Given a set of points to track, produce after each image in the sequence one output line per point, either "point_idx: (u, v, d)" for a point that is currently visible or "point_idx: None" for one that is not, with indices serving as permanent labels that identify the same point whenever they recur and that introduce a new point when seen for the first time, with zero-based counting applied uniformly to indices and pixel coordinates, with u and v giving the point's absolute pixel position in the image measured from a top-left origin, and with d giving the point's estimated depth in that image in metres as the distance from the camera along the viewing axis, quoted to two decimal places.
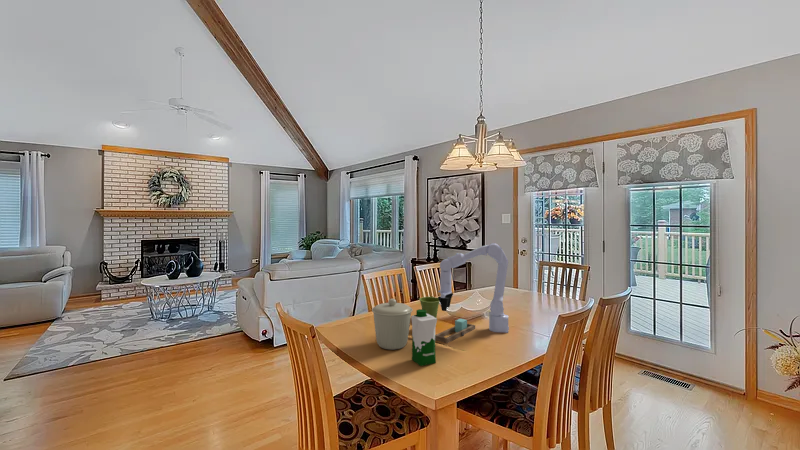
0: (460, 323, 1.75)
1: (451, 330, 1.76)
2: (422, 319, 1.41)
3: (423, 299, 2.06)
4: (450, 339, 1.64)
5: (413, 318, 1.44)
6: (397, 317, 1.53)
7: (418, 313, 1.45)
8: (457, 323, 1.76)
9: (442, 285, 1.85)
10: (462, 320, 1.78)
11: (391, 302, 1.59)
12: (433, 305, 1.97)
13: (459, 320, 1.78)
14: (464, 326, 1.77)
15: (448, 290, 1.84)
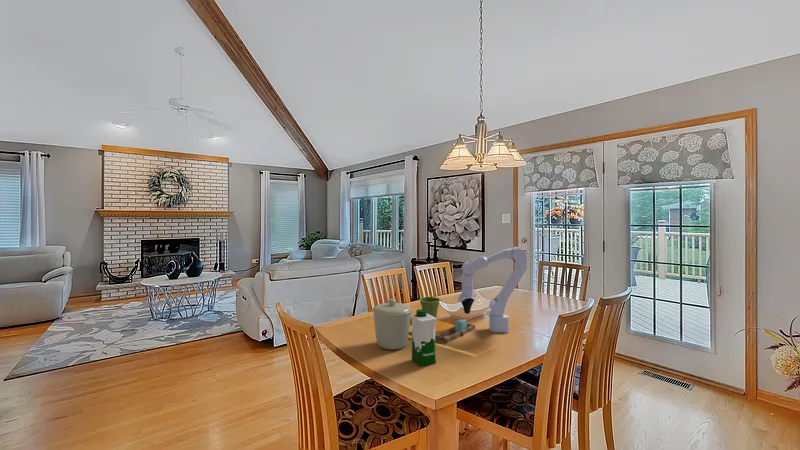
0: (460, 323, 1.75)
1: (451, 330, 1.76)
2: (422, 319, 1.41)
3: (423, 299, 2.06)
4: (450, 339, 1.64)
5: (413, 318, 1.44)
6: (397, 317, 1.53)
7: (418, 313, 1.45)
8: (457, 323, 1.76)
9: (462, 288, 1.81)
10: (462, 320, 1.78)
11: (391, 302, 1.59)
12: (433, 305, 1.97)
13: (459, 320, 1.78)
14: (464, 326, 1.77)
15: (468, 294, 1.79)
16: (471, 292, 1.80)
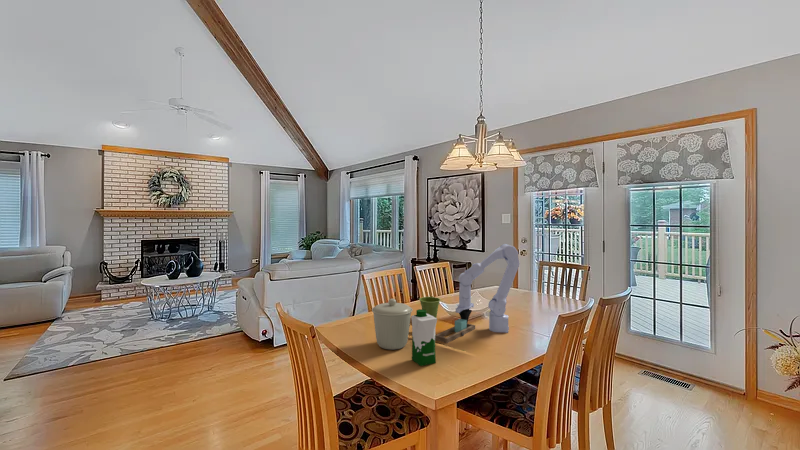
0: (460, 323, 1.75)
1: (451, 330, 1.76)
2: (422, 319, 1.41)
3: (423, 299, 2.06)
4: (450, 339, 1.64)
5: (413, 318, 1.44)
6: (397, 317, 1.53)
7: (418, 313, 1.45)
8: (457, 323, 1.76)
9: (460, 299, 1.79)
10: (462, 320, 1.78)
11: (391, 302, 1.59)
12: (433, 305, 1.97)
13: (459, 320, 1.78)
14: (463, 326, 1.76)
15: (466, 305, 1.78)
16: (468, 303, 1.78)
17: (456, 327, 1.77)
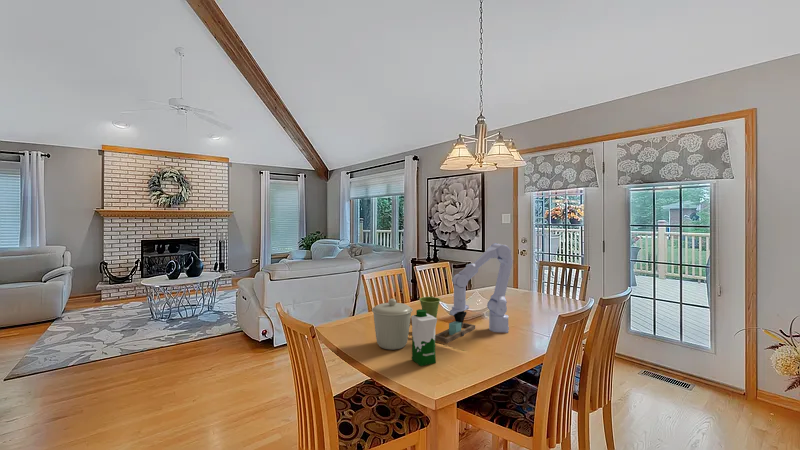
0: (454, 326, 1.71)
1: None
2: (422, 319, 1.41)
3: (423, 299, 2.06)
4: (450, 339, 1.64)
5: (413, 318, 1.44)
6: (397, 317, 1.53)
7: (418, 313, 1.45)
8: (451, 326, 1.72)
9: (454, 301, 1.75)
10: (456, 323, 1.74)
11: (391, 302, 1.59)
12: (433, 305, 1.97)
13: (453, 323, 1.74)
14: (458, 329, 1.72)
15: (460, 307, 1.74)
16: (463, 305, 1.74)
17: (450, 330, 1.73)
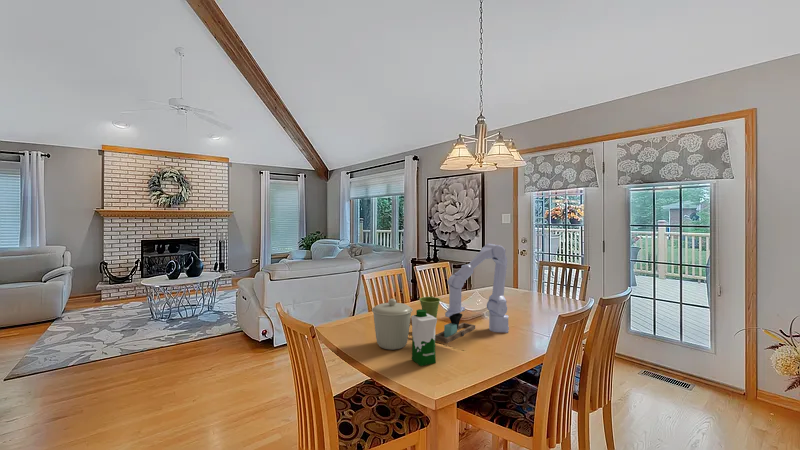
0: (449, 328, 1.68)
1: None
2: (422, 319, 1.41)
3: (423, 299, 2.06)
4: (450, 339, 1.64)
5: (413, 318, 1.44)
6: (397, 317, 1.53)
7: (418, 313, 1.45)
8: (446, 328, 1.69)
9: (450, 303, 1.72)
10: (452, 325, 1.71)
11: (391, 302, 1.59)
12: (433, 305, 1.97)
13: (449, 325, 1.71)
14: (453, 331, 1.69)
15: (456, 309, 1.71)
16: (459, 307, 1.71)
17: (446, 332, 1.69)
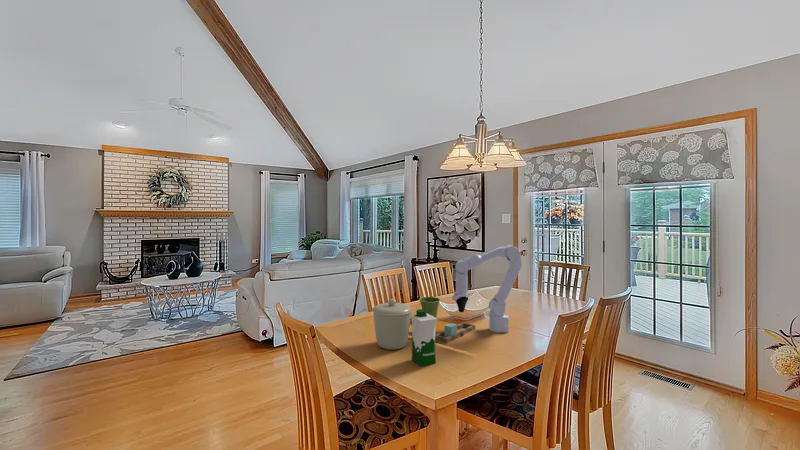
0: (449, 328, 1.68)
1: None
2: (422, 319, 1.41)
3: (423, 299, 2.06)
4: (450, 339, 1.64)
5: (413, 318, 1.44)
6: (397, 317, 1.53)
7: (418, 313, 1.45)
8: (446, 328, 1.69)
9: (456, 287, 1.80)
10: (452, 325, 1.71)
11: (391, 302, 1.59)
12: (433, 305, 1.97)
13: (448, 325, 1.71)
14: (453, 331, 1.69)
15: (462, 293, 1.78)
16: (465, 290, 1.79)
17: (446, 332, 1.69)
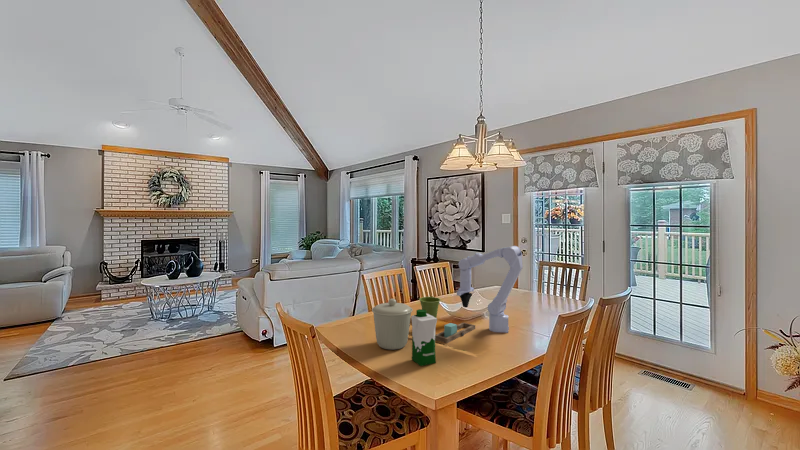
0: (449, 328, 1.68)
1: None
2: (422, 319, 1.41)
3: (423, 299, 2.06)
4: (450, 339, 1.64)
5: (413, 318, 1.44)
6: (397, 317, 1.53)
7: (418, 313, 1.45)
8: (446, 328, 1.69)
9: (461, 283, 1.89)
10: (452, 325, 1.71)
11: (391, 302, 1.59)
12: (433, 305, 1.97)
13: (448, 325, 1.71)
14: (453, 331, 1.69)
15: (466, 288, 1.87)
16: (469, 286, 1.88)
17: (446, 332, 1.69)
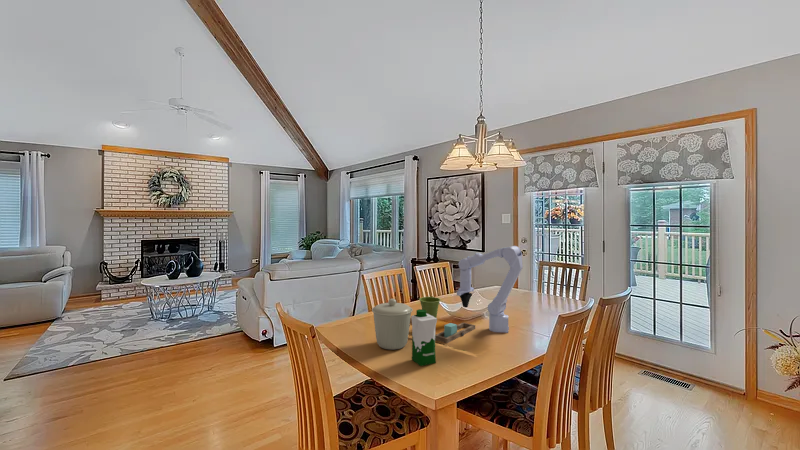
0: (449, 328, 1.68)
1: None
2: (422, 319, 1.41)
3: (423, 299, 2.06)
4: (450, 339, 1.64)
5: (413, 318, 1.44)
6: (397, 317, 1.53)
7: (418, 313, 1.45)
8: (446, 328, 1.69)
9: (461, 283, 1.89)
10: (452, 325, 1.71)
11: (391, 302, 1.59)
12: (433, 305, 1.97)
13: (448, 325, 1.71)
14: (453, 331, 1.69)
15: (466, 288, 1.87)
16: (469, 286, 1.88)
17: (446, 332, 1.69)
